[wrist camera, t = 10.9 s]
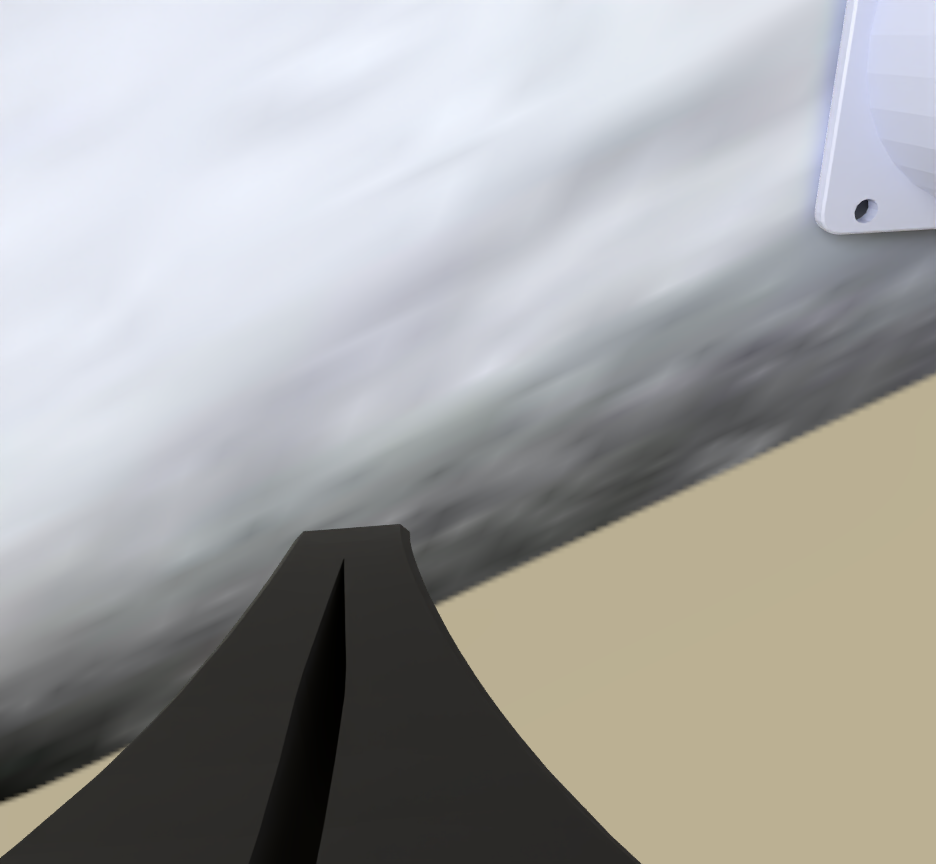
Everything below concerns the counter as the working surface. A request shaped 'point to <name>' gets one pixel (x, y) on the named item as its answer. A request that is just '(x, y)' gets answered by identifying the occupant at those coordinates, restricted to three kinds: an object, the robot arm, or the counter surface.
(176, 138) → the counter surface
